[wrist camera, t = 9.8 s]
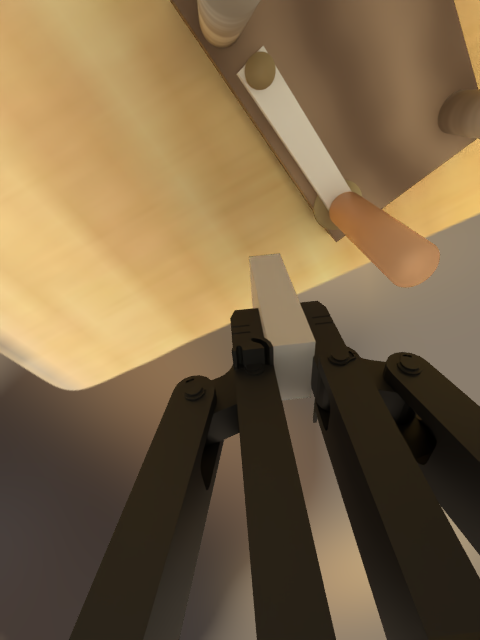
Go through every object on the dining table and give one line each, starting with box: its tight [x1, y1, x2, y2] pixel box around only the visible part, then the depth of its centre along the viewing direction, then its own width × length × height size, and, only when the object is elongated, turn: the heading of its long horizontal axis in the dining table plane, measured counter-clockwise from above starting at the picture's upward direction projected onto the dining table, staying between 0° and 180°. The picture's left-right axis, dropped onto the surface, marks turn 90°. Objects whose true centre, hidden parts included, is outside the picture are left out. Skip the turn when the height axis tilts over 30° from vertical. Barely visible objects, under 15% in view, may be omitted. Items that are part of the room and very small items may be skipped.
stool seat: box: [170, 0, 480, 242], centre depth 16 cm, size 12×18×11 cm
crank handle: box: [237, 46, 440, 288], centre depth 17 cm, size 2×12×10 cm, turn 40°
